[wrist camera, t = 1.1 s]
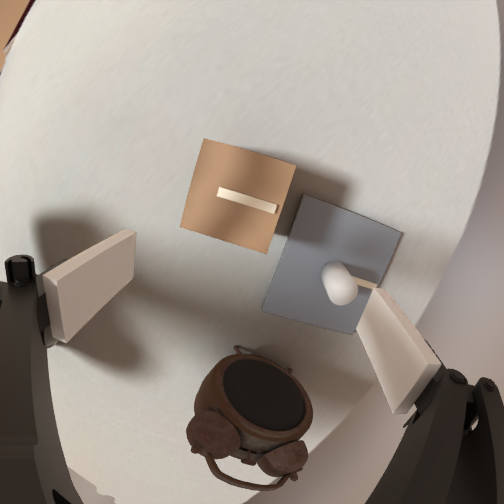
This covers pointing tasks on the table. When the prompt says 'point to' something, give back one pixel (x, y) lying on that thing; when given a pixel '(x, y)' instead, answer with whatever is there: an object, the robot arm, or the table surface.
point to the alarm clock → (251, 419)
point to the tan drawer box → (236, 195)
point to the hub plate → (320, 248)
